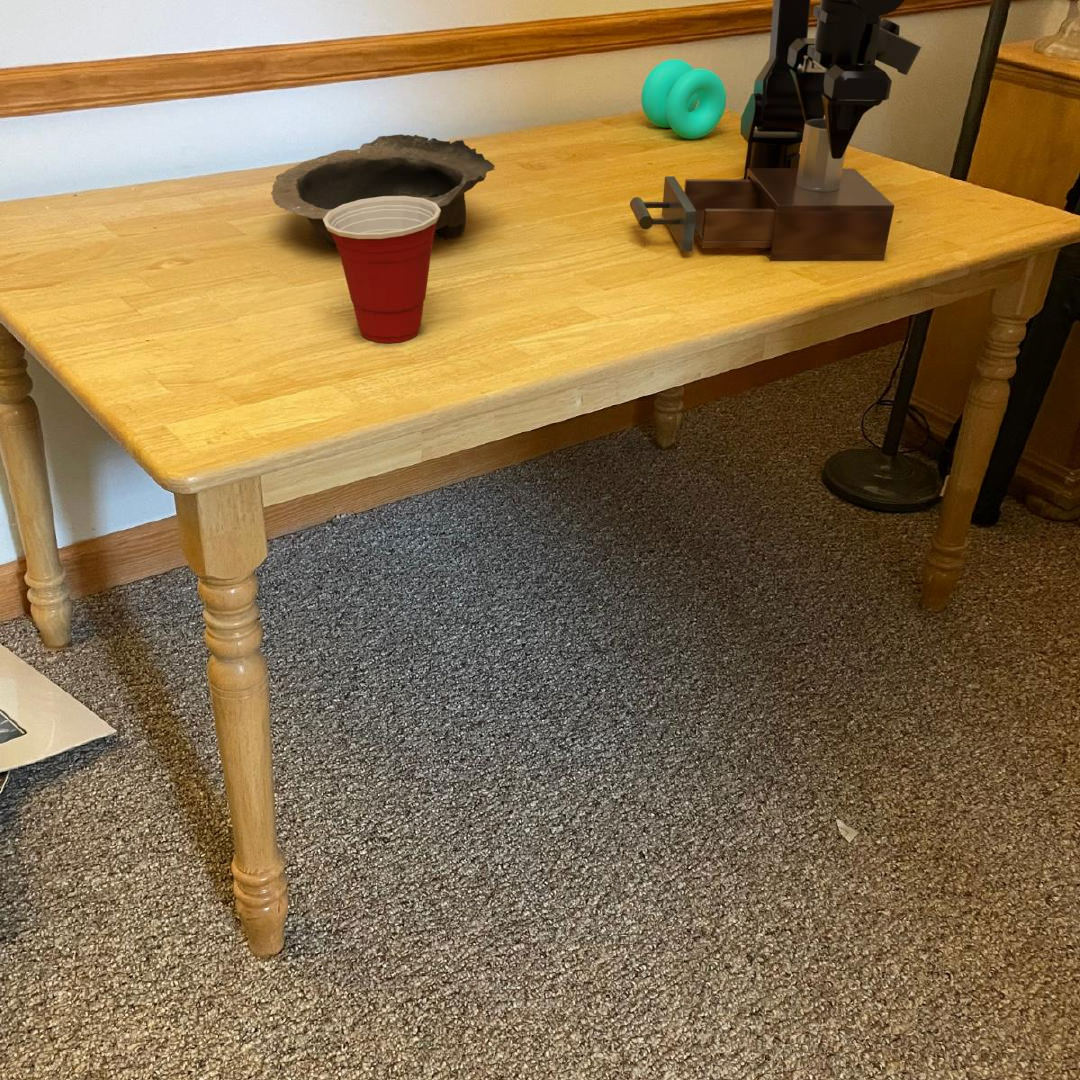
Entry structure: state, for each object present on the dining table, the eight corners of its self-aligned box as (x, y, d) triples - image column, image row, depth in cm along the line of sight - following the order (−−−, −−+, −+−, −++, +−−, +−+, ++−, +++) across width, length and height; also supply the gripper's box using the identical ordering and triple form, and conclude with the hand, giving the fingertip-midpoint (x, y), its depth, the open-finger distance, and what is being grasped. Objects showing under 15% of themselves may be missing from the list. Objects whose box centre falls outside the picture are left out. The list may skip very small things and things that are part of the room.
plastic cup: (334, 310, 119) (326, 191, 112) (442, 309, 120) (439, 191, 113) (327, 355, 110) (317, 229, 103) (443, 354, 111) (441, 229, 104)
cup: (787, 184, 138) (796, 123, 134) (811, 176, 141) (821, 116, 137) (824, 194, 135) (834, 132, 131) (847, 186, 138) (858, 125, 134)
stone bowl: (523, 218, 143) (524, 142, 138) (422, 301, 125) (418, 218, 120) (350, 184, 152) (343, 111, 146) (231, 258, 134) (219, 178, 128)
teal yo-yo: (670, 144, 175) (676, 73, 169) (635, 128, 182) (640, 59, 177) (725, 137, 179) (733, 68, 173) (689, 122, 186) (695, 55, 181)
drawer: (642, 252, 133) (645, 211, 131) (624, 214, 144) (627, 176, 142) (788, 251, 135) (794, 211, 132) (760, 214, 146) (765, 176, 143)
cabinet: (770, 260, 135) (778, 205, 131) (740, 219, 147) (747, 167, 143) (883, 260, 136) (894, 205, 132) (845, 219, 148) (854, 168, 144)
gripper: (953, 16, 120) (921, 171, 128) (890, -14, 135) (866, 126, 144) (847, 14, 119) (821, 170, 127) (796, -15, 134) (777, 126, 143)
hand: (824, 147), depth 135 cm, fingers open, 9 cm apart
